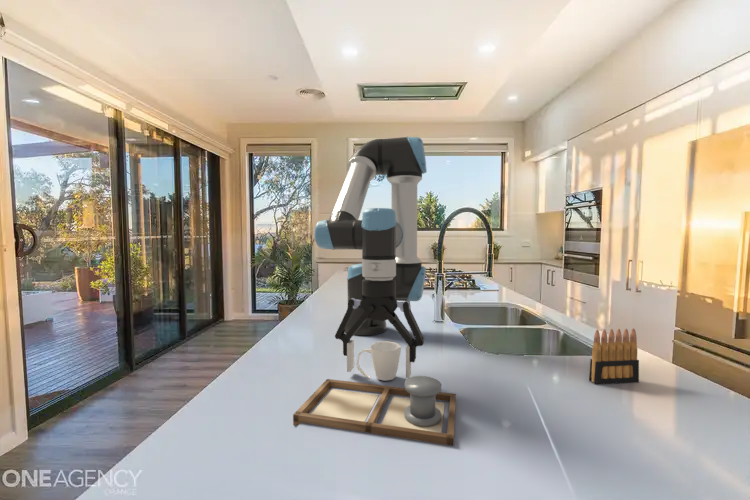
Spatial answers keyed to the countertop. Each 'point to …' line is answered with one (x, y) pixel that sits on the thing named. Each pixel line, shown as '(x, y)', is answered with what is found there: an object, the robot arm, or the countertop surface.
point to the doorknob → (422, 401)
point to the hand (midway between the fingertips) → (378, 372)
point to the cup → (383, 359)
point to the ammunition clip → (614, 358)
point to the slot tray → (356, 406)
